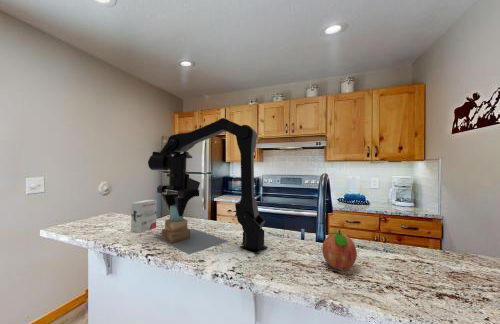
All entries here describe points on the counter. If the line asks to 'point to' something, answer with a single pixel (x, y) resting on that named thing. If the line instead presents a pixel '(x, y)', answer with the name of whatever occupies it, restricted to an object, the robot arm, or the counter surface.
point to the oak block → (176, 225)
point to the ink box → (143, 216)
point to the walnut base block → (175, 236)
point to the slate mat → (196, 242)
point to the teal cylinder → (175, 214)
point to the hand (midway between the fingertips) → (176, 214)
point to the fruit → (339, 251)
